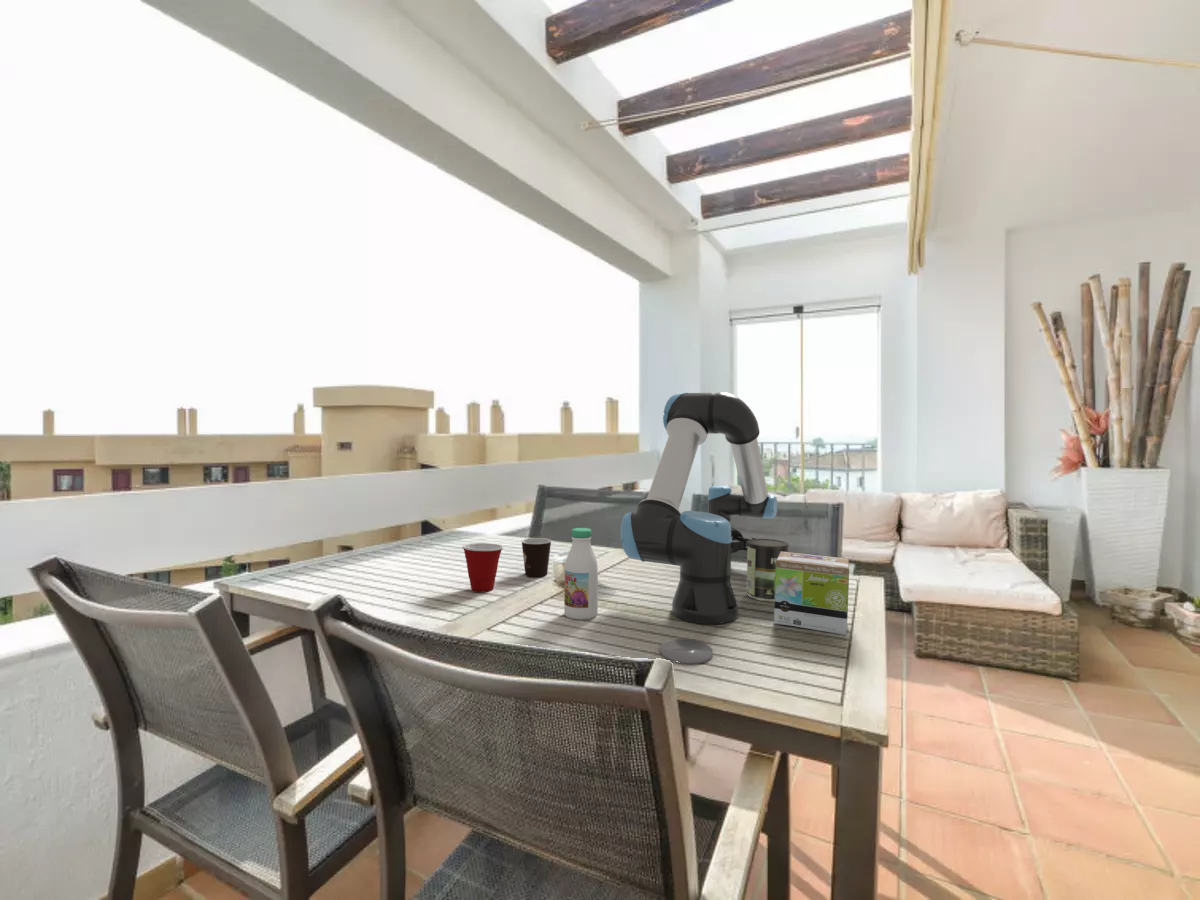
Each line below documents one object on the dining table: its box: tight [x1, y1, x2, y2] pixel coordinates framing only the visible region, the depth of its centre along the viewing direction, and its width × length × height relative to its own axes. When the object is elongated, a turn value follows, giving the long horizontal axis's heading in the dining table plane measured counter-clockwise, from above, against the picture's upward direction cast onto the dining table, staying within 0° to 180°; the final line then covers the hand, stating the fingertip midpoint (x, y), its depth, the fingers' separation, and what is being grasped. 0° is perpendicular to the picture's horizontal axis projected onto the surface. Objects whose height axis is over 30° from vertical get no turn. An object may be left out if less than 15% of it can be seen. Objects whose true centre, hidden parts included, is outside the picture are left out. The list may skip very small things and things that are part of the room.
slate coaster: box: [659, 638, 714, 665], centre depth 105 cm, size 10×10×1 cm
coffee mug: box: [521, 537, 552, 579], centre depth 162 cm, size 12×9×10 cm
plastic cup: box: [462, 542, 504, 593], centre depth 145 cm, size 11×11×12 cm
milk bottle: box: [563, 527, 599, 621], centre depth 126 cm, size 8×8×20 cm
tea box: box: [773, 551, 850, 636], centre depth 121 cm, size 15×10×15 cm, turn 66°
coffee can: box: [746, 538, 790, 603], centre depth 141 cm, size 10×10×14 cm
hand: (753, 555), depth 151 cm, fingers open, 13 cm apart
